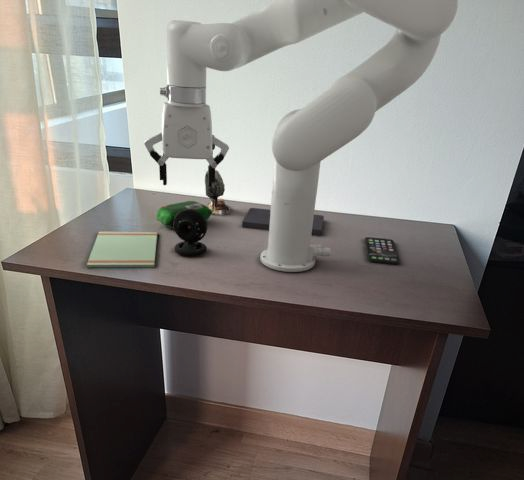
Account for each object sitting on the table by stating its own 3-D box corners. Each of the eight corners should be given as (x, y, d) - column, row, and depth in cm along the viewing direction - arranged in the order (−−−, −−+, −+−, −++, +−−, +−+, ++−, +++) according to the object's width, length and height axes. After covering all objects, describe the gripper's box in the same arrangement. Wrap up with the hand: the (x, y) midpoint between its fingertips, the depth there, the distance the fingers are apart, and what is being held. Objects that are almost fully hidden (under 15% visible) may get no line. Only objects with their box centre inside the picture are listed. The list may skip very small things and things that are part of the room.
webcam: (169, 255, 110) (167, 212, 105) (179, 243, 117) (178, 202, 111) (202, 259, 110) (202, 216, 104) (210, 247, 116) (211, 206, 110)
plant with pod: (195, 215, 135) (194, 138, 124) (209, 204, 144) (210, 131, 133) (223, 219, 134) (224, 142, 123) (235, 207, 143) (238, 135, 132)
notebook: (242, 227, 129) (321, 235, 127) (242, 221, 128) (322, 230, 126) (249, 212, 140) (323, 220, 138) (250, 207, 139) (324, 215, 137)
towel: (157, 234, 121) (157, 231, 121) (154, 267, 104) (154, 264, 104) (99, 233, 119) (99, 231, 118) (86, 267, 102) (86, 264, 102)
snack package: (217, 222, 131) (217, 203, 128) (167, 233, 122) (166, 212, 119) (201, 215, 135) (201, 197, 132) (152, 225, 126) (151, 205, 123)
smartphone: (368, 259, 114) (364, 236, 126) (368, 261, 114) (364, 239, 127) (400, 262, 114) (393, 239, 126) (399, 265, 114) (392, 242, 126)
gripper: (140, 95, 91) (145, 187, 100) (232, 101, 94) (228, 191, 103) (143, 91, 97) (147, 178, 106) (228, 96, 100) (225, 181, 109)
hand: (187, 184), depth 105 cm, fingers open, 9 cm apart
